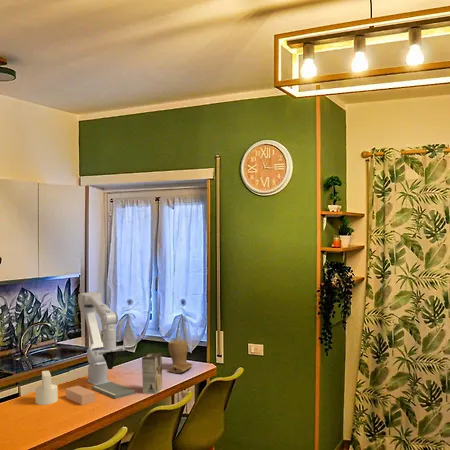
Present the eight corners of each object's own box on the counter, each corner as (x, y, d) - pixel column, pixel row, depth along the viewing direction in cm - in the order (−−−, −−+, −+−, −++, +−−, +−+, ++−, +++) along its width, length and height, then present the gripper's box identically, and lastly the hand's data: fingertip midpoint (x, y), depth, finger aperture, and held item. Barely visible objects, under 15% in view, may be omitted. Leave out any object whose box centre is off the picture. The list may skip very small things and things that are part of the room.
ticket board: (91, 389, 250) (91, 385, 250) (111, 384, 257) (110, 381, 257) (115, 399, 235) (115, 395, 235) (135, 394, 242) (135, 390, 242)
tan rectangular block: (65, 397, 238) (65, 388, 238) (78, 394, 242) (78, 385, 242) (81, 405, 228) (81, 395, 228) (94, 401, 232) (94, 392, 232)
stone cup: (174, 365, 289) (174, 337, 289) (195, 367, 286) (194, 338, 285) (161, 373, 275) (161, 343, 275) (183, 375, 271) (183, 344, 271)
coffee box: (149, 387, 251) (148, 352, 251) (162, 388, 250) (162, 353, 250) (142, 394, 242) (141, 357, 242) (156, 394, 241) (155, 358, 241)
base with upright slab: (34, 399, 236) (34, 372, 236) (56, 396, 240) (56, 369, 240) (36, 406, 228) (36, 377, 228) (59, 403, 232) (58, 374, 232)
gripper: (99, 342, 241) (100, 373, 242) (127, 337, 251) (128, 367, 251) (91, 340, 247) (92, 370, 247) (119, 335, 256) (120, 364, 257)
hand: (110, 368), depth 249 cm, fingers closed
